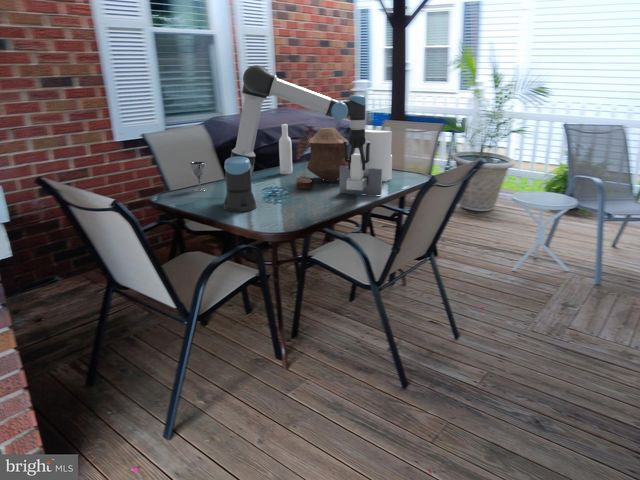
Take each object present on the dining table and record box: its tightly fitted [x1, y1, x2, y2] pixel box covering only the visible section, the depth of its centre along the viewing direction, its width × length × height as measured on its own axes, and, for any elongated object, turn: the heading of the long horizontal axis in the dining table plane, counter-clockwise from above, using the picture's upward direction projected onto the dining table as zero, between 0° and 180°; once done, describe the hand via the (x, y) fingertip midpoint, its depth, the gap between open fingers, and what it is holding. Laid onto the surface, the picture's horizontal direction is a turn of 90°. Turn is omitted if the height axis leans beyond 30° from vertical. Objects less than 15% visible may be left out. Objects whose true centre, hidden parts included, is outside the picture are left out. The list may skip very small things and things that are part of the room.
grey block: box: [339, 166, 383, 196], centre depth 244 cm, size 12×22×14 cm, turn 70°
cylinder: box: [363, 129, 393, 181], centre depth 281 cm, size 17×17×28 cm
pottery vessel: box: [306, 127, 349, 181], centre depth 279 cm, size 26×26×30 cm
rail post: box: [351, 152, 362, 181], centre depth 239 cm, size 4×4×14 cm
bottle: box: [278, 123, 294, 175], centre depth 299 cm, size 8×8×30 cm
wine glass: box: [189, 160, 207, 193], centre depth 262 cm, size 8×8×15 cm
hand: (356, 176), depth 241 cm, fingers closed on rail post, 4 cm apart
